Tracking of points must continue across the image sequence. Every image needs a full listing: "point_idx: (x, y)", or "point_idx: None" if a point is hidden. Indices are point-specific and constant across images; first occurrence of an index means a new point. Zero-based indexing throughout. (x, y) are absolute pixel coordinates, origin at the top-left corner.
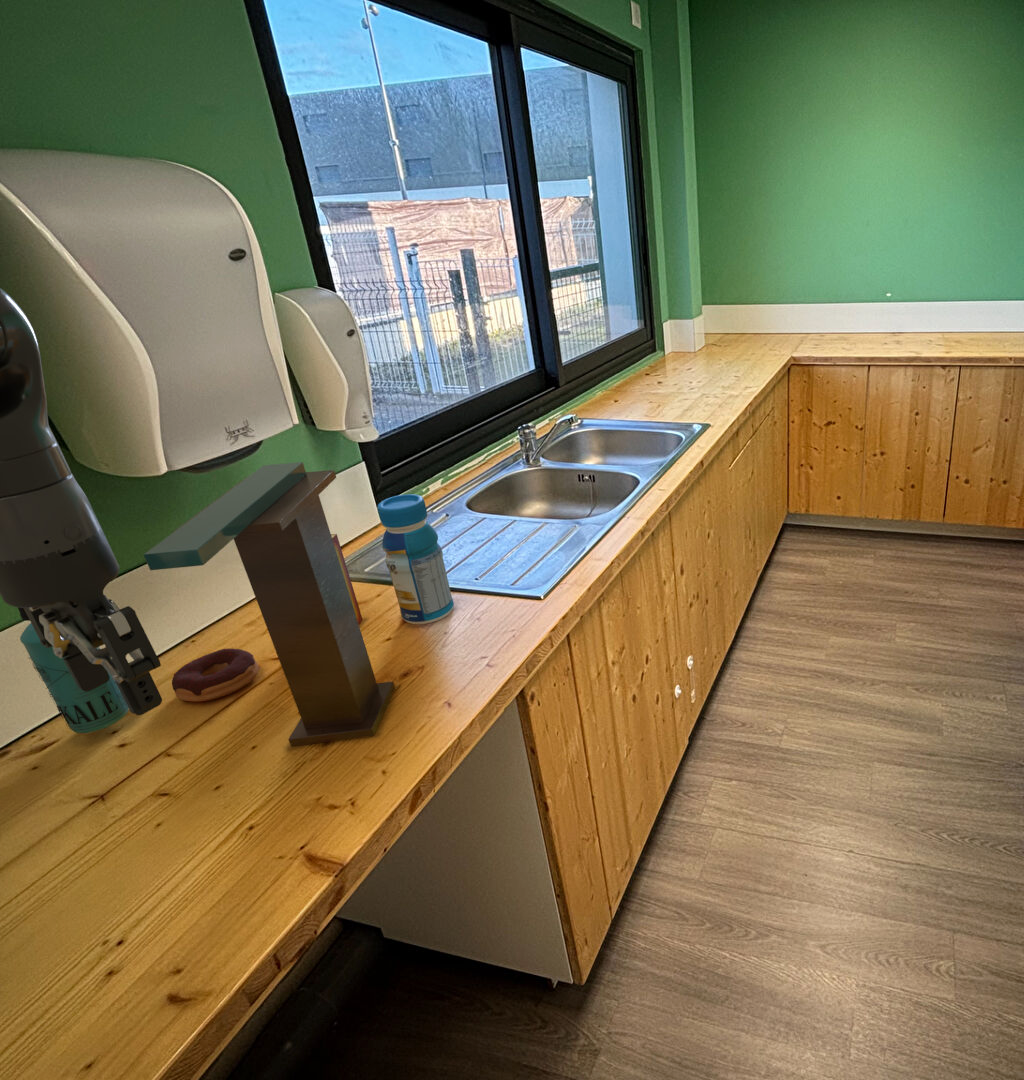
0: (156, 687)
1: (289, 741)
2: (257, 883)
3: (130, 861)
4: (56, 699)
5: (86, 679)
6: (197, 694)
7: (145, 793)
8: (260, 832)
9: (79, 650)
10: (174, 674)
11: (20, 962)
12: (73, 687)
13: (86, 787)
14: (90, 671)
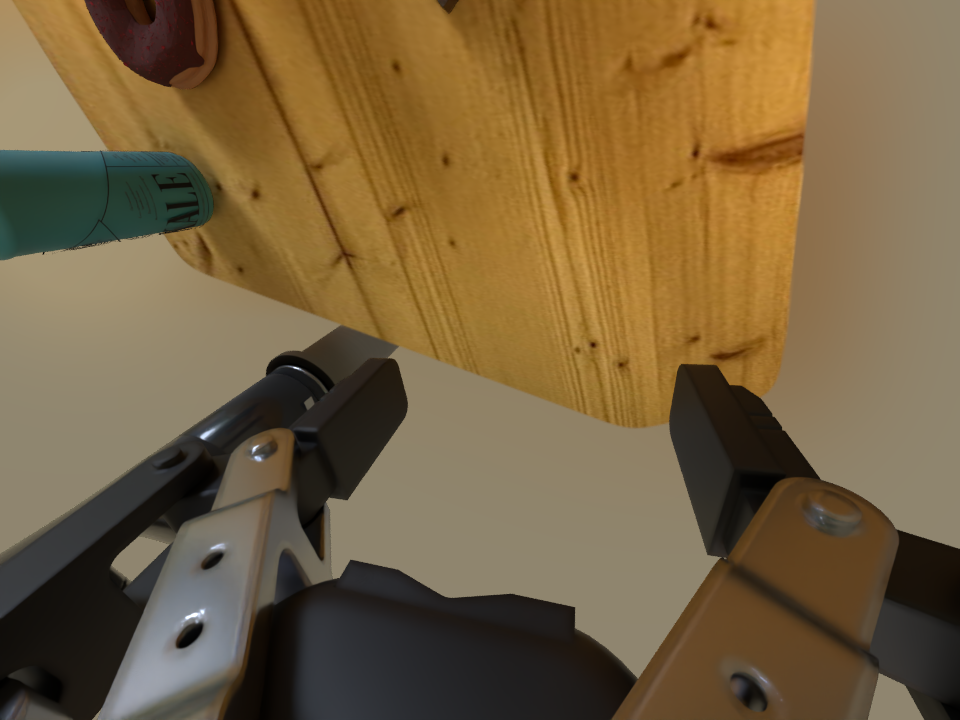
0: (734, 397)
1: (445, 9)
2: (681, 230)
3: (485, 288)
4: (145, 234)
5: (389, 418)
6: (202, 63)
7: (378, 224)
8: (597, 174)
9: (319, 475)
10: (125, 64)
11: (525, 387)
12: (134, 217)
13: (315, 256)
14: (375, 415)
